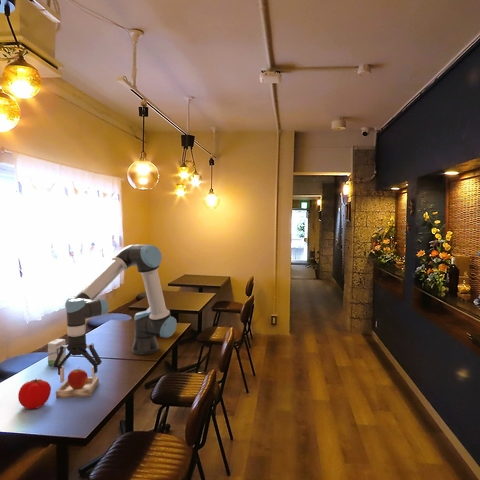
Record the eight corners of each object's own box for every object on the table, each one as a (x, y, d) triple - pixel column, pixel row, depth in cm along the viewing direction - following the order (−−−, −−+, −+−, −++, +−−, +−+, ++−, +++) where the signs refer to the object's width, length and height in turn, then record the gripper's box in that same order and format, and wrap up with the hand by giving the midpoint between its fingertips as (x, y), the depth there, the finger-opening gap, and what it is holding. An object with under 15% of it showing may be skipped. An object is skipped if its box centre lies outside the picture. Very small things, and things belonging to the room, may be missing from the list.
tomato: (16, 415, 149) (15, 387, 149) (20, 403, 160) (19, 376, 159) (50, 409, 154) (49, 382, 153) (52, 397, 164) (51, 372, 164)
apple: (65, 388, 171) (64, 366, 170) (82, 383, 177) (82, 361, 176) (72, 393, 165) (72, 371, 165) (90, 387, 171) (90, 365, 171)
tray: (98, 383, 179) (98, 376, 178) (89, 396, 165) (89, 389, 165) (67, 384, 177) (67, 378, 177) (56, 398, 163) (55, 391, 163)
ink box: (58, 359, 211) (57, 338, 211) (66, 359, 210) (65, 338, 210) (47, 365, 203) (46, 343, 202) (56, 365, 202) (55, 343, 201)
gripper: (107, 330, 175) (108, 376, 176) (50, 332, 172) (52, 379, 173) (103, 335, 167) (104, 382, 168) (43, 337, 165) (45, 386, 166)
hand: (78, 381), depth 171 cm, fingers open, 13 cm apart
